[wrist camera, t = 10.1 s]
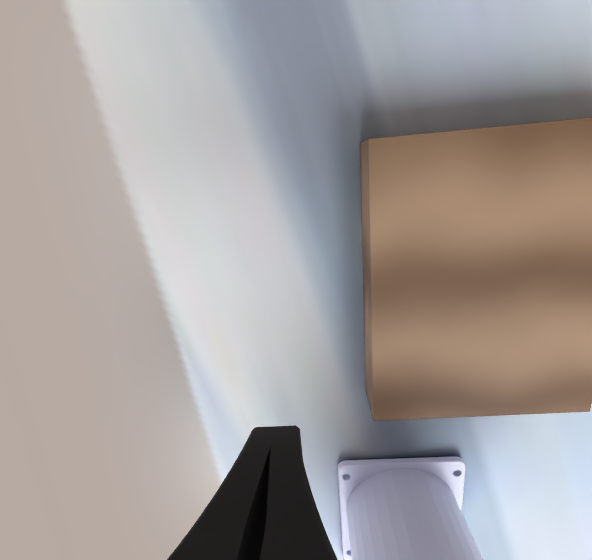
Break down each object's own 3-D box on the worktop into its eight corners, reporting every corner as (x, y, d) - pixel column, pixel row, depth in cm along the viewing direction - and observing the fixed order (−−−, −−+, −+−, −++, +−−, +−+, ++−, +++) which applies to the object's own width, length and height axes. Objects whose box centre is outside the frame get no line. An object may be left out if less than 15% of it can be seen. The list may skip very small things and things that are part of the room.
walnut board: (555, 382, 20) (589, 411, 17) (366, 391, 20) (373, 420, 18) (602, 120, 15) (655, 111, 13) (359, 143, 16) (368, 138, 14)
